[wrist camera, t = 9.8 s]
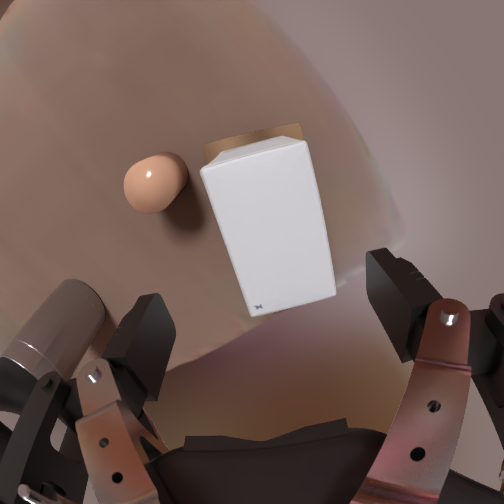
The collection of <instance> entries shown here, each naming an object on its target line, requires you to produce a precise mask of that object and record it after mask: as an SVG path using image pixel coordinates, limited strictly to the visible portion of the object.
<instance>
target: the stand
mask: <svg viewBox="0 0 504 504" xmlns="http://www.w3.org/2000/svg"><path fill="white" fill-rule="evenodd" d="M279 136H286V137H290V138H294V139H298V140H302V141H304V139H303V135H302V130H301V126H300V123H294V124H289V125H284V126H278V127H273V128H269V129H264V130H259V131H255V132H250V133H246V134H242V135H238V136H234V137H230V138H226V139H222V140H218V141H214V142H211V143H207V144H204V145H202V148H203V152H204V155H205V159H206V163H207V165H208V164H209V163H210V162H211V161H212V160H214V159H215V158H216V157H217V156H218V155H219V153H220V152H223V151H226V150H230V149H234V148H237V147H241V146H245V145H248V144H252V143H256V142H259V141H263V140H267V139H271V138H275V137H279Z"/></svg>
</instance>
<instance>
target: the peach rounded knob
mask: <svg viewBox="0 0 504 504" xmlns="http://www.w3.org/2000/svg"><path fill="white" fill-rule="evenodd" d="M187 178H188V170H187V166H186V164H185V162H184V161H183V160H182V159H181V158H180V157H179V156H178V155H176V154H174V153H170V152H162V153H158V154H156V155H154V156H151V157H149V158H147V159H144V160H142V161H140V162H138V163H136V164H134V165H133V166H132V167H131V168H130V169H129V171H128V172H127V174H126V176H125V180H124V192H125V195H126V198H127V200H128V201H129V203H130V204H131V205H132V206H133V207H134V208H135V209H137V210H138V211H140V212H143V213H149V214H152V213H157V212H160V211H162V210H164V209H165V208H166V207H168V205H169V204H170V203H171V202H172V201H173V199H174V198H175V197H176V196H177V195H178V194H179V192H180V191H181V190H182V189H183V188H184V186H185V184H186V182H187Z"/></svg>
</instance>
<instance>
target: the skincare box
mask: <svg viewBox="0 0 504 504" xmlns="http://www.w3.org/2000/svg"><path fill="white" fill-rule="evenodd" d="M200 175H201V177H202V180H203V182H204V185H205V188H206V191H207V193H208V196H209V199H210V202H211V205H212V208H213V211H214V213H215V216H216V219H217V222H218V225H219V228H220V231H221V233H222V236H223V239H224V242H225V245H226V247H227V250H228V253H229V256H230V259H231V262H232V265H233V267H234V270H235V273H236V276H237V279H238V281H239V284H240V287H241V290H242V293H243V296H244V298H245V301H246V304H247V307H248V310H249V312H250V315H251V316H252V317H255V316H260V315H264V314H268V313H272V312H277V311H281V310H284V309H288V308H292V307H296V306H300V305H304V304H308V303H312V302H316V301H319V300H323V299H326V298H329V297H333V296H335V295H336V286H335V279H334V272H333V265H332V259H331V253H330V248H329V242H328V236H327V231H326V225H325V220H324V215H323V210H322V205H321V200H320V196H319V191H318V186H317V182H316V177H315V173H314V169H313V165H312V161H311V157H310V153H309V149H308V145H307V142H306V141H302V140H298V139H294V138H290V137H286V136H279V137H275V138H271V139H267V140H263V141H259V142H256V143H252V144H248V145H245V146H241V147H237V148H234V149H230V150H226V151H223V152H220V153H219V155H218V156H217V157H216V158H215V159H214V160H212V161H211V162H210V163H209V164H208V165H206V166H204V167H203V168H202V169H201V170H200Z"/></svg>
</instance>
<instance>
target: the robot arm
mask: <svg viewBox="0 0 504 504" xmlns="http://www.w3.org/2000/svg"><path fill="white" fill-rule="evenodd" d="M366 289H367V295H368V299H369V301H370V303H371V305H372V307H373V309H374V311H375V312H376V314H377V316H378V318H379V320H380V321H381V323H382V325H383V327H384V329H385V331H386V333H387V334H388V336H389V338H390V340H391V342H392V344H393V346H394V348H395V350H396V352H397V354H398V356H399V358H400V360H401V362H402V363H404V362H407V361H410V360H413V361H414V366H413V369H412V372H411V375H410V378H409V381H408V385H407V387H406V390H405V393H404V395H403V398H402V401H401V404H400V406H399V409H398V411H397V414H396V416H395V419H394V421H393V423H392V426H391V428H390V430H389V432H388V435H387V434H385V433H382V432H378V431H375V430H371V429H365V428H348V426H347V422H346V418H343V419H339V420H335V421H330V422H326V423H321V424H316V425H311V426H306V427H303V428H300V429H298V430H295V431H292V432H290V433H287V434H284V435H282V436H279V437H276V438H273V439H270V440H267V441H261V442H260V441H252V440H245V439H239V438H232V437H227V436H186V437H185V443H184V447H180V448H177V449H173V450H171V451H170V450H169V449H168V448H167V446H166V445H165V443H164V442H163V440H162V438H161V436H160V435H159V433H158V431H157V429H156V428H155V426H154V424H153V422H152V420H151V418H150V416H149V415H148V412H147V411H146V410H145V408H144V407H143V405H144V402H145V401H157V399H158V395H159V392H160V388H161V385H162V381H163V378H164V375H165V371H166V368H167V364H168V361H169V358H170V354H171V351H172V348H173V345H174V341H175V338H176V329H175V325H174V322H173V320H172V318H171V316H170V314H169V312H168V310H167V308H166V305H165V303H164V301H163V299H162V297H161V295H160V294H158V293H154V294H148V295H142V296H140V297H139V298H138V300H137V302H136V303H135V305H134V307H133V309H131V310H130V311H129V312H128V313H127V314H126V315H125V316H124V317H123V319H122V320H121V322H120V324H119V326H118V328H117V329H116V331H115V333H114V335H113V337H112V339H111V340H110V342H109V344H108V346H107V348H106V350H105V352H104V354H103V356H102V358H101V359H95V360H92V361H90V362H88V363H87V364H85V365H84V366H83V367H82V368H81V369H80V371H79V372H78V375H77V378H74V379H71V378H72V376H73V374H74V372H75V370H76V369H77V367H78V365H79V363H80V361H81V360H82V358H83V356H84V354H85V353H86V351H87V349H88V347H89V346H90V344H91V342H92V341H93V339H94V337H95V336H96V334H97V332H98V331H99V329H100V327H101V326H102V324H103V322H104V321H105V309H104V306H103V304H102V301H101V300H100V298H99V297H98V295H97V294H96V293H95V292H94V291H93V290H92V289H91V288H90V287H88V286H87V285H85V284H84V283H82V282H80V281H77V280H66V281H64V282H62V283H61V284H60V285H59V286H58V288H57V289H56V290H55V291H54V292H53V293H52V294H51V295H50V296H49V297H48V298H47V300H46V301H45V302H44V303H43V304H42V305H41V306H40V307H39V309H38V310H37V311H36V312H35V313H34V314H33V316H32V317H31V318H30V319H29V320H28V322H27V323H26V324H25V325H24V326H23V328H22V329H21V330H20V331H19V333H18V334H17V335H16V336H15V338H14V339H13V340H12V342H11V343H10V344H9V346H8V347H7V348H6V350H5V351H4V352H3V354H2V355H1V357H0V411H6V412H12V413H15V414H19V415H20V417H19V419H18V422H17V424H16V426H15V428H14V431H11V430H10V429H9V428H8V427H6V426H5V425H4V424H3V423H2V422H1V421H0V504H83V499H84V495H85V490H86V485H87V481H88V477H89V478H90V481H91V484H92V487H93V490H94V492H95V495H96V498H97V500H98V503H99V504H504V459H503V462H502V466H501V472H500V473H499V480H500V482H502V484H501V489H500V491H497V490H495V489H492V488H490V487H488V486H485V485H483V484H481V483H478V482H476V481H474V480H472V479H470V478H468V477H465V476H463V475H462V474H459V473H457V472H455V471H453V470H451V469H450V465H451V462H452V459H453V456H454V453H455V450H456V446H457V443H458V439H459V435H460V431H461V427H462V423H463V419H464V414H465V409H466V404H467V398H468V393H469V386H470V380H471V378H472V379H473V381H474V383H475V385H476V387H477V389H478V391H479V393H480V395H481V397H482V399H483V401H484V404H485V405H486V408H487V410H488V412H489V415H490V417H491V419H492V422H493V424H494V426H495V429H496V431H497V434H498V436H499V438H500V441H501V444H502V447H503V449H504V293H502V294H497V295H495V296H494V297H493V298H492V299H491V302H490V305H489V309H483V310H473V311H469V309H468V308H467V306H466V305H465V304H463V303H462V302H460V301H458V300H455V299H450V298H443V297H442V296H441V295H440V294H439V293H438V292H437V290H436V289H435V288H434V287H433V286H432V285H431V284H430V282H429V281H428V280H427V279H426V278H424V276H423V275H422V274H421V273H420V272H419V271H418V269H417V268H416V267H415V266H414V265H413V264H412V263H411V262H409V261H407V260H405V259H403V258H401V257H400V258H395V257H394V256H393V254H392V253H391V252H390V251H389V250H388V249H387V248H381V249H377V250H372V251H368V252H367V253H366ZM57 418H59V419H60V420H61V421H62V422H63V423H64V424H65V425H66V426H67V430H66V433H65V436H64V439H63V441H62V444H61V447H60V450H59V452H58V451H57V450H55V449H54V448H53V447H52V445H51V442H50V435H51V433H52V430H53V428H54V425H55V422H56V420H57Z"/></svg>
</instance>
